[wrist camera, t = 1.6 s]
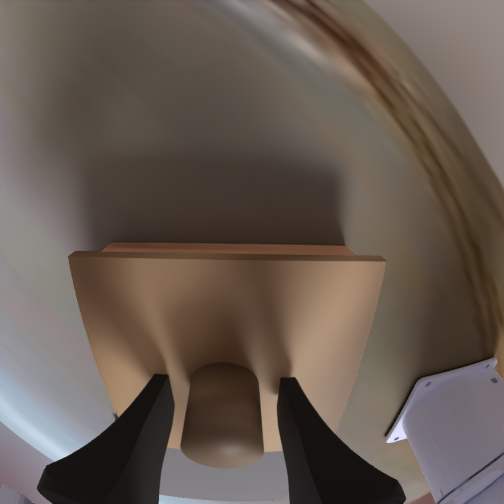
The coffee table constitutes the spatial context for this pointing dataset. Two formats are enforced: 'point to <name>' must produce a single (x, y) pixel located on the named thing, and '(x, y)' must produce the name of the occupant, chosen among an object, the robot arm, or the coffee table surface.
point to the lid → (228, 337)
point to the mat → (224, 479)
